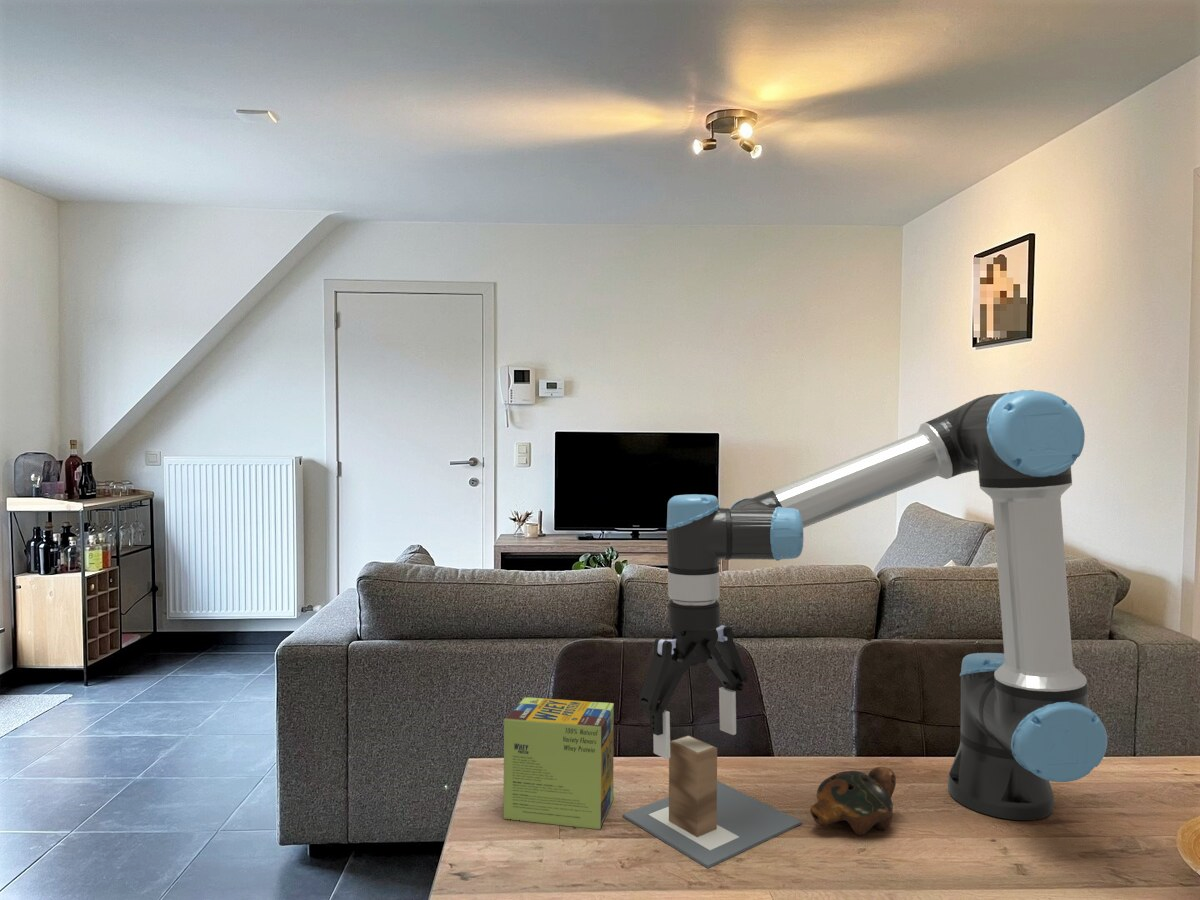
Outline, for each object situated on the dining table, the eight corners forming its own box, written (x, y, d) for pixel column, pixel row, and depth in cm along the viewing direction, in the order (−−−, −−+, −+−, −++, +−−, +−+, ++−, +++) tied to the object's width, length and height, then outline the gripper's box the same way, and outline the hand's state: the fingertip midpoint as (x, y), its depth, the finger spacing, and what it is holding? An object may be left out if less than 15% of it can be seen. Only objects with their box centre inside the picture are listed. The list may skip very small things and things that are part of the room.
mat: (802, 823, 118) (802, 820, 118) (707, 868, 106) (707, 865, 106) (714, 781, 132) (714, 779, 132) (622, 816, 120) (622, 813, 120)
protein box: (602, 830, 116) (602, 726, 116) (502, 820, 119) (502, 718, 119) (615, 798, 126) (615, 702, 126) (522, 789, 129) (522, 695, 129)
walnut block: (716, 829, 116) (717, 747, 115) (697, 837, 113) (697, 753, 113) (688, 813, 120) (688, 734, 120) (668, 821, 118) (669, 740, 118)
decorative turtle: (916, 826, 118) (917, 775, 117) (843, 859, 110) (843, 805, 110) (865, 796, 126) (865, 748, 125) (794, 825, 119) (794, 774, 118)
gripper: (733, 585, 127) (735, 716, 127) (611, 608, 111) (614, 757, 112) (769, 592, 121) (771, 729, 121) (646, 617, 105) (649, 775, 106)
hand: (696, 743), depth 116 cm, fingers open, 13 cm apart
